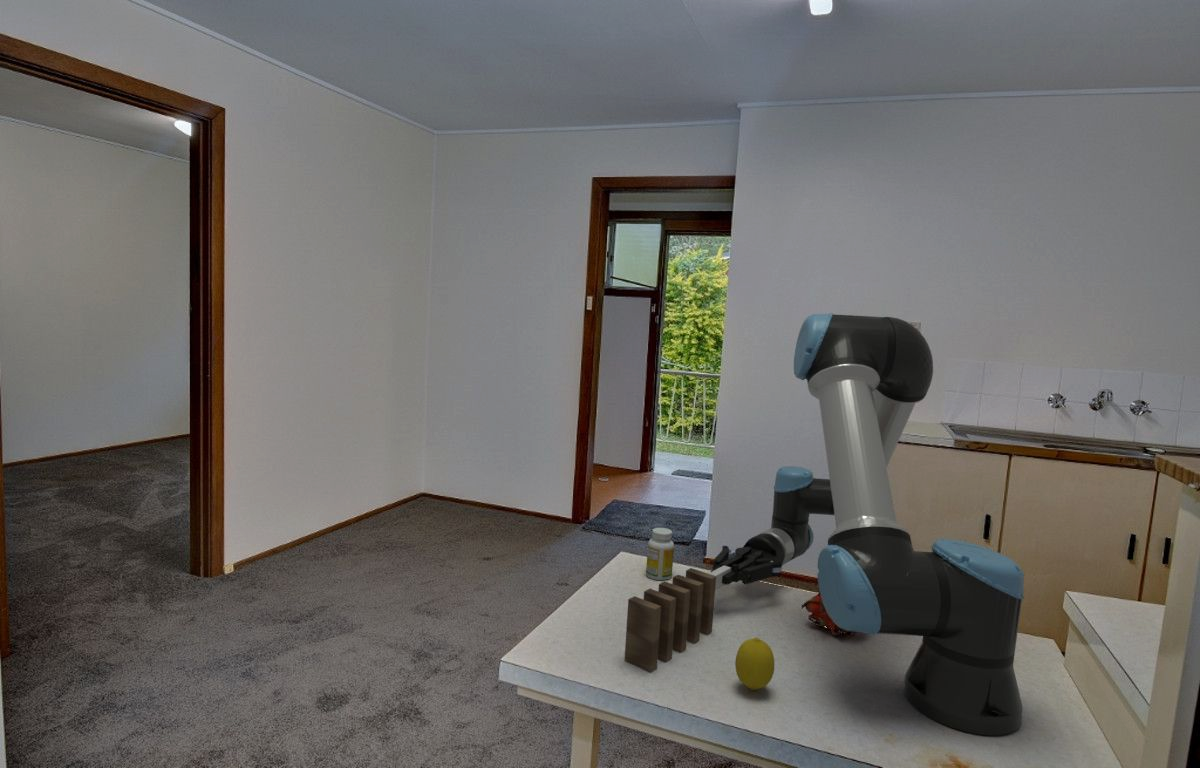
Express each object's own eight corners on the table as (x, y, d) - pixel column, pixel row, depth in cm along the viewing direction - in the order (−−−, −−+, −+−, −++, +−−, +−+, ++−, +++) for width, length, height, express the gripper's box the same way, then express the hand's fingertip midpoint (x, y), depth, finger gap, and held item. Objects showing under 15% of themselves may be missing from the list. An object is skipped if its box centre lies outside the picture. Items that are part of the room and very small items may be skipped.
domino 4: (699, 640, 116) (703, 583, 115) (694, 643, 114) (698, 585, 113) (674, 630, 119) (677, 574, 118) (668, 633, 118) (672, 577, 116)
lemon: (772, 703, 98) (777, 649, 97) (733, 697, 99) (737, 644, 98) (771, 683, 104) (775, 632, 103) (733, 677, 105) (737, 626, 104)
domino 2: (671, 658, 109) (676, 598, 108) (666, 662, 108) (670, 601, 107) (645, 647, 112) (649, 588, 111) (640, 651, 111) (644, 591, 110)
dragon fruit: (876, 650, 119) (803, 644, 124) (874, 606, 125) (805, 602, 130) (874, 623, 114) (798, 618, 118) (872, 578, 120) (800, 575, 125)
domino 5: (711, 632, 119) (716, 576, 118) (707, 635, 118) (711, 578, 117) (686, 622, 122) (690, 568, 121) (682, 625, 121) (686, 570, 120)
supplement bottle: (646, 580, 140) (649, 534, 139) (645, 570, 145) (648, 525, 144) (672, 581, 140) (676, 535, 139) (671, 571, 145) (674, 527, 144)
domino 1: (656, 668, 106) (661, 606, 105) (650, 672, 105) (655, 609, 104) (630, 657, 109) (634, 596, 108) (624, 660, 108) (628, 599, 107)
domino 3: (685, 649, 112) (690, 590, 111) (680, 653, 111) (685, 593, 110) (660, 638, 116) (664, 581, 114) (654, 642, 114) (658, 583, 113)
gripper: (797, 578, 137) (740, 615, 119) (737, 560, 145) (676, 592, 127) (800, 541, 136) (744, 573, 118) (740, 525, 144) (679, 553, 126)
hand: (709, 583), depth 122 cm, fingers closed
